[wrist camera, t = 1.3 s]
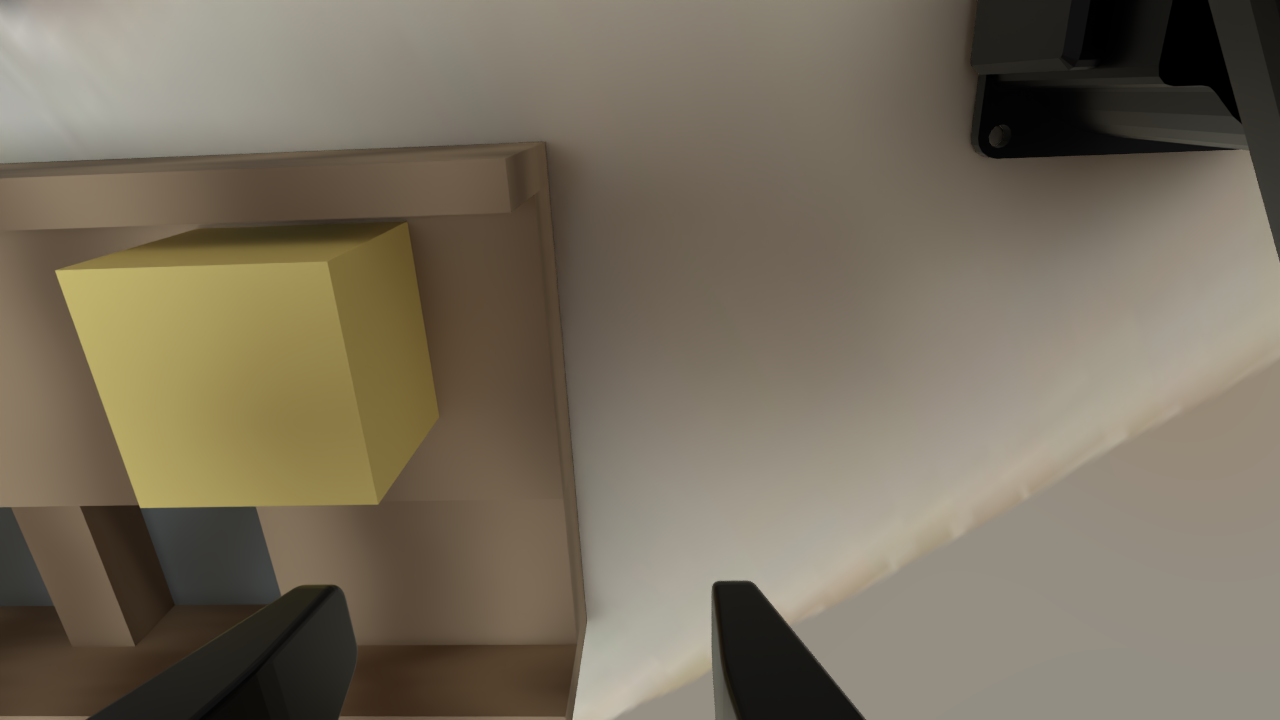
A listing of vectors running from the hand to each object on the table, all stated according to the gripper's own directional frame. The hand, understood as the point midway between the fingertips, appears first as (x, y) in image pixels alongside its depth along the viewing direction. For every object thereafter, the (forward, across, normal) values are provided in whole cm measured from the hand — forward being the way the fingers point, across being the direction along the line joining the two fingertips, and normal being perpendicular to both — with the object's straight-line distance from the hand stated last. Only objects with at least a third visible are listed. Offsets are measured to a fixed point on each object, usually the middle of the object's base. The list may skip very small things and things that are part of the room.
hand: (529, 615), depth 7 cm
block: (+10, +7, 0) cm, 12 cm away
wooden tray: (+12, +13, +4) cm, 18 cm away
